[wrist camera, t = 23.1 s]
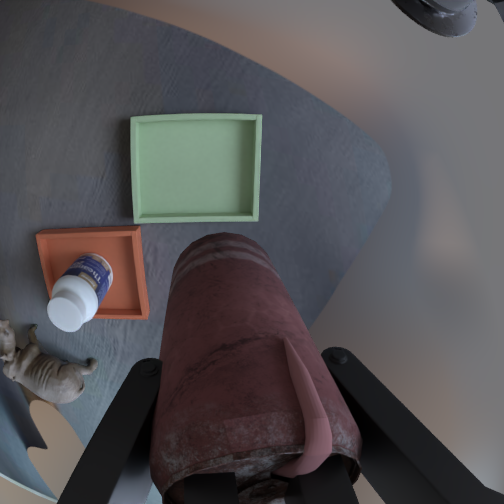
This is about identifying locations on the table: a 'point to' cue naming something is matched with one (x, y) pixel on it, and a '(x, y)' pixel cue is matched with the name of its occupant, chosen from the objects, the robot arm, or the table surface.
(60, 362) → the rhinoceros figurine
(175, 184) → the sage tray
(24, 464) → the table surface
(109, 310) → the terracotta tray
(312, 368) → the can
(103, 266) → the pill bottle
